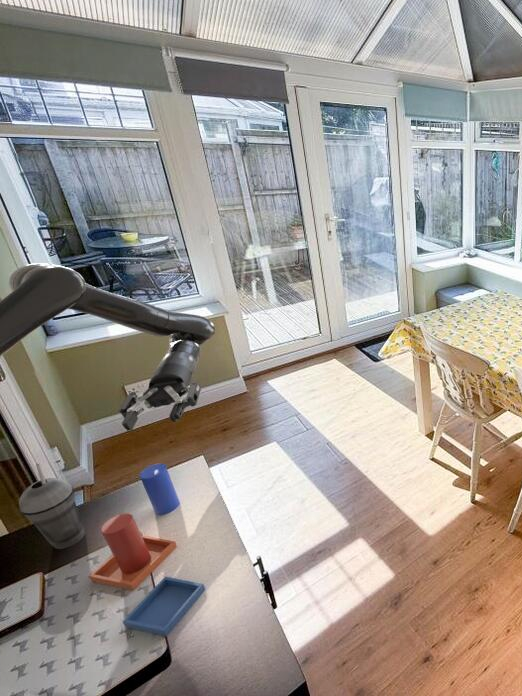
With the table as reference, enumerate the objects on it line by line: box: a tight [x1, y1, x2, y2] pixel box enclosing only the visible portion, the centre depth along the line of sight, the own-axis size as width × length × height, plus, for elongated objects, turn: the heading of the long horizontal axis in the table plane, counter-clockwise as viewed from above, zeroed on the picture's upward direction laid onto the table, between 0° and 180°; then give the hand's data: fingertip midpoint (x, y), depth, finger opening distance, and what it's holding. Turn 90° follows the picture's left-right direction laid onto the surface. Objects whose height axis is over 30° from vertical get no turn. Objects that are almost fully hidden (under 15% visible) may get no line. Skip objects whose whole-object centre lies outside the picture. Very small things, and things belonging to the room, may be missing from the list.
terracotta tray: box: [88, 534, 178, 591], centre depth 80 cm, size 9×9×2 cm
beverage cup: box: [18, 463, 86, 550], centre depth 80 cm, size 7×7×20 cm
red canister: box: [100, 512, 151, 574], centre depth 78 cm, size 4×4×11 cm
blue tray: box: [122, 576, 206, 638], centre depth 73 cm, size 8×8×2 cm
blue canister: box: [139, 463, 181, 516], centre depth 90 cm, size 4×4×11 cm
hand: (150, 423), depth 90 cm, fingers open, 8 cm apart
